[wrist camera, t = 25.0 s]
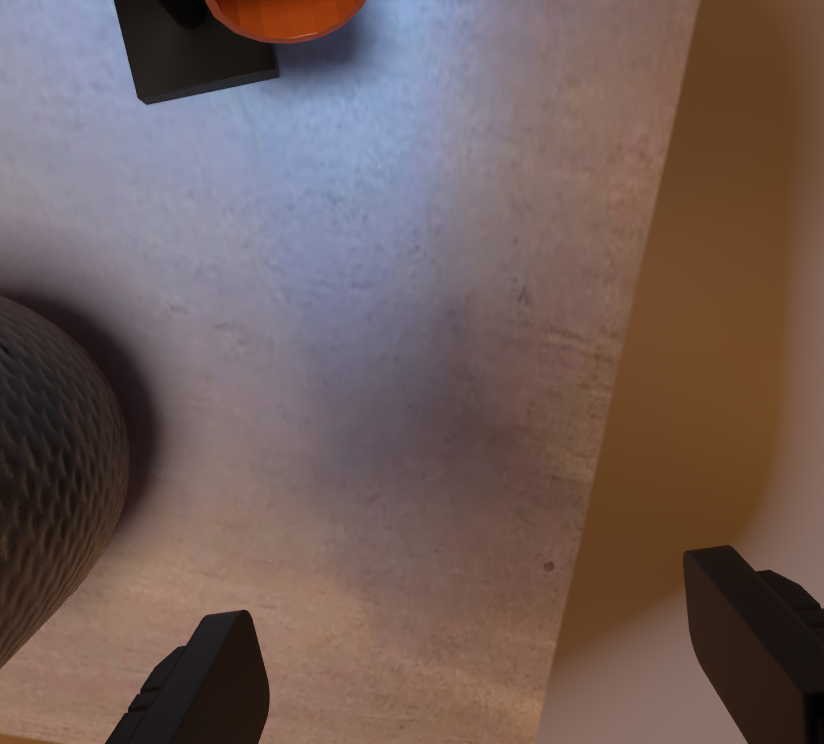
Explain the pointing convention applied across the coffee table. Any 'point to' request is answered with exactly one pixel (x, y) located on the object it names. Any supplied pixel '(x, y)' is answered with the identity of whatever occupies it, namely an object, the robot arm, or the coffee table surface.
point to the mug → (284, 18)
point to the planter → (52, 470)
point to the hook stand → (187, 50)
